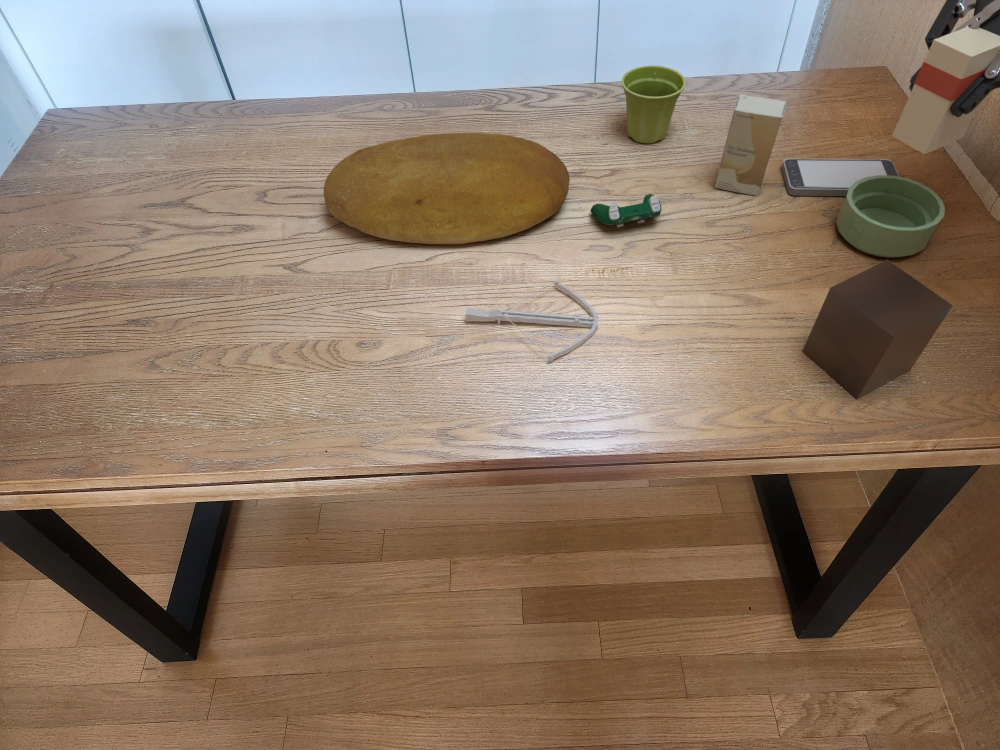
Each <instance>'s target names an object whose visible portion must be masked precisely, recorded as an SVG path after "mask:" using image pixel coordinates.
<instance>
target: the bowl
mask: <svg viewBox="0 0 1000 750" xmlns="http://www.w3.org/2000/svg"><path fill="white" fill-rule="evenodd" d="M945 213H946V206H945V204H944V202H943V199H942V198H941V197H940V196H939V195H938V194H937V193H936V192H935V191H934V190H933V189H931V188H930V187H928V186H926V185H925V184H923V183H921V182H918V181H915V180H913V179H911V178H907V177H902V176H899V177H897V176H888V175H877V176H871V177H866V178H863V179H861V180H858V181H856V182H855V183H854V184H853V185H852V186H851V187H850V188H849V189H848V191H847V194H846V196H844V199H843V201H842V204H841V206H840V209H839V211H838V214H837V217H836V221H835V224H836V227H837V231H838V233H839V234H840V235H841V236H842V237H843V238H844V240H845V241H846V242H847V243H848V244H849V245H851V246H852V248H853V247H854V248H855V249H856V250H858V251H860V252H863V253H865V254H868V255H871V256H874V257H879V258H889V259H890V258H902V257H908V256H913V255H916V254H918V253H920V252H921V251H923V250H925V249H926V247H927V246H928V245H929V244H930V243H931V240H932V239H933V237H934V235H935V233H936V232H937V230H938V228H939V227H940V224H941V222H942V221H943V219H944V217H945Z"/></svg>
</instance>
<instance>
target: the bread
mask: <svg viewBox="0 0 1000 750" xmlns="http://www.w3.org/2000/svg"><path fill="white" fill-rule="evenodd" d="M569 187H570V174H569V170H568V168H567V166H566V165H565V164H564V162H563V161H562V159H561V158H560V157H559V156H557V155H556V154H555V153H554V152H553V151H551V150H549V149H548V148H547V147H546V146H543V145H541V144H539V143H538V142H535V141H533V140H530V139H526V138H524V137H518V136H514V135H508V134H502V133H501V134H500V133H488V132H487V133H486V132H485V133H484V132H456V133H455V132H453V133H436V134H427V135H419V136H414V137H408V138H407V137H406V138H402V139H401V138H400V139H395V140H388V141H385V142H382V143H378V144H375V145H371V146H366V147H363V148H360V149H358V150H356V151H354V152H352V153H350V154H349V155H347V156H346V157H344V158H343V159H341V160H340V161H339V162H338V163H337V164H336V165H335V166H334V167H333V168H332V169H331V170H330V172H329V173H328V175H327V177H326V180H325V181H324V186H323V198H324V203H325V206H326V208H327V210H328V211H329V212H330V214H332V216H334V217H335V219H337V220H338V221H340V222H342V223H343V224H345V225H347V226H349V227H351V228H355V229H357V230H358V231H360V232H362V233H364V234H365V235H366V234H367V235H370V236H373V237H376V238H379V239H383V240H389V241H396V242H397V241H398V242H402V243H412V244H424V245H462V244H463V245H464V244H468V243H469V244H470V243H476V242H483V241H484V242H485V241H489V240H490V241H491V240H495V239H501V238H505V237H507V236H511V235H514V234H517V233H520V232H523V231H525V230H529V229H530V228H533V227H534V226H536V225H538V224H540V223H542V222H544V221H545V220H546V219H549V218H550V217H551V216H553V215H554V214H555V213H557V212H558V211H559V209H560V208H561V207H562V206H563V205H564V202H565V200H566V198H567V196H568V194H569Z"/></svg>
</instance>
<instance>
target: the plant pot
mask: <svg viewBox="0 0 1000 750" xmlns="http://www.w3.org/2000/svg"><path fill="white" fill-rule="evenodd" d="M686 84H687V81H686V78H685V76H684V75H683V74H682V73H681V72H679V71H678V70H676V69H674V68H671V67H668V66H664V65H655V64H654V65H650V64H649V65H642V66H637V67H635V68H632V69H630V70H628V71H626V72H625V73H624V74H623V76H622V77H621V86H622V88H623V90H624V95H625V106H626V131H627V136H628V137H630V138H632V140H633V141H634V142H636V143H639V144H649V145H650V144H655V143H656V142H658V141H660V140H661V141H663V140H664V139H665V138H666V137H667V133H668V130H669V127H670V124H671V120H672V118H673V114H674V111H675V107H676V104H677V102H678V101H677V100H678V99H679V97H680V96H681V93H682V92H683V91H684V90H685V88H686V86H687V85H686Z"/></svg>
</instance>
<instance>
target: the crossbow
mask: <svg viewBox="0 0 1000 750" xmlns="http://www.w3.org/2000/svg"><path fill="white" fill-rule="evenodd" d="M553 284H554V287H555V288H556V289H559V290H560V291H562V292H563V293H565V294H566V295H568V296H569V297H570V298H572V299H573V300H574V301H575V302H577V303H578V304H579V305H580V306H581V307H582V308H583V309H585V311H586V312H588V314H589V315H590V316H587V315H586V316H585V315H580V314H579V313H575V314H574V315H573V314H560V313H547V312H538V311H537V312H535V311H524V310H517V309H514V310H512V307H514V306H516V305H518V304H520V303H521V302H523V301H525V300H526V299H529V298H530V297H532V296H534V295H535V294H537V293H539V292H541V291H542V290H544V289H546V288H548V287H549V286H551V285H553ZM510 309H511V310H510ZM494 321H497V325H498V326H499V325H500V324H501V321H503V322H510V324H512V325H513V326H514V327H515V328H516V329H518V331H520V332H521V333H522V334H523V335H525V337H527V338H528V339H529V341H531V342H532V343H533V344H534V345H536V346H537V347H538V348H539V349H540V350H541V351H542V352H543V353H545V355H547V361H548V362H553V361H554V360H556V359H557V358H560V357H562V356H564V355H566V354H568V353H569V352H571V351H573V350H575V349H576V348H578V347H580V346H581V345H582V344H584V343H585V342H586V341H588V340H589V339H591V338H592V337H593V336H594V334H595V333H596V332H597V330H598V329H599V315H598V313H597V312H596V311H595V309H594V308H593V307H592V306H591V305H590V304H589V303H588V302H587V301H586V300H585V299H584V298H582V297H581V296H580V295H578V293H576V292H574V291H573V290H572V289H571V288H569V287H568V286H565V285H564V284H563V283H561V282H560V280H554V281H553V282H551V283H550V284H548V285H546V286H544V287H542V288H540V289H539V290H537V291H535V292H534V293H532V294H530V295H528V296H527V297H525V298H523V299H521V300H520V301H518V302H516V303H514V304H512V305H510V306H509V307H507V308H506V309H500V308H498V309H493V310H487V309H486V310H485V309H480V308H474V307H473V308H472V307H466V310H465V322H494ZM514 322H517V323H528V324H529V323H530V324H540V325H541V324H542V325H555V326H567V327H579V328H590V329H589V330H588V331H587V332H586V333H584V335H582V336H581V337H580V338H579V339H577V340H575V341H573V342H572V343H570V344H569V345H568V346H566V347H564V348H562V349H560V350H557V351H555V352H553V353H551V354H548V353H547V351H545V350H544V349H543V347H541V346H540V345H539V344H537V342H535V341H534V340H533V339H532V338H530V336H528V334H526V333H525V332H524V331H523V330H522V329H521V328H519V327H518V325H516V324H515V323H514Z"/></svg>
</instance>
